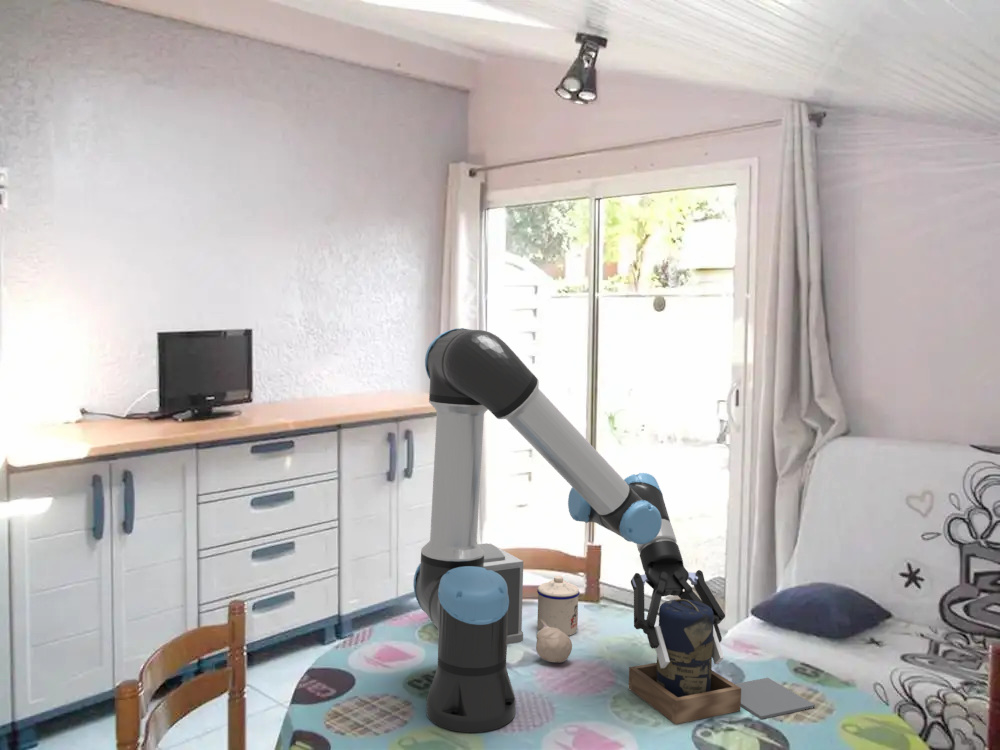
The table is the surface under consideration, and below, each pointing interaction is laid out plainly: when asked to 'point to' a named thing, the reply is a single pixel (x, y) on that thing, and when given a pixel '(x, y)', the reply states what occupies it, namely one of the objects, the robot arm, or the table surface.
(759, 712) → the mat
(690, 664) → the canister
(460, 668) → the robot arm
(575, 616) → the teacup with lid
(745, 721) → the table surface
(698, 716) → the holder
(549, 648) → the garlic bulb
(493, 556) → the alarm clock
